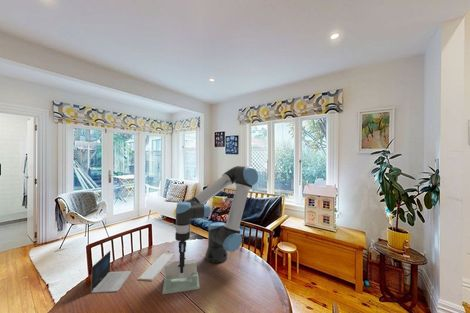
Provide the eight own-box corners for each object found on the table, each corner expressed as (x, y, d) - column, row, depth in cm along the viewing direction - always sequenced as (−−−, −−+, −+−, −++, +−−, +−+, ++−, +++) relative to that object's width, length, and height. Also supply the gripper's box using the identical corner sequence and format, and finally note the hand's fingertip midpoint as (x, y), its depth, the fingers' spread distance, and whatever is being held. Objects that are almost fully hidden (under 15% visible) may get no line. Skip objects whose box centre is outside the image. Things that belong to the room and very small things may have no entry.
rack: (197, 273, 116) (197, 263, 116) (199, 288, 103) (199, 276, 103) (164, 277, 111) (165, 266, 112) (162, 294, 98) (162, 281, 98)
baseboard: (134, 280, 109) (152, 282, 108) (134, 275, 110) (152, 276, 109) (160, 254, 139) (174, 255, 138) (160, 250, 140) (174, 251, 139)
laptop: (117, 292, 99) (118, 266, 99) (90, 293, 98) (91, 267, 98) (131, 272, 117) (132, 249, 117) (109, 273, 115) (109, 250, 116)
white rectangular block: (196, 271, 110) (196, 259, 110) (196, 275, 106) (195, 262, 106) (166, 275, 108) (166, 262, 108) (165, 280, 104) (164, 266, 104)
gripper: (176, 226, 115) (174, 267, 114) (174, 238, 98) (173, 286, 98) (189, 226, 117) (188, 266, 116) (190, 237, 100) (189, 284, 100)
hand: (181, 275), depth 107 cm, fingers closed on white rectangular block, 4 cm apart
